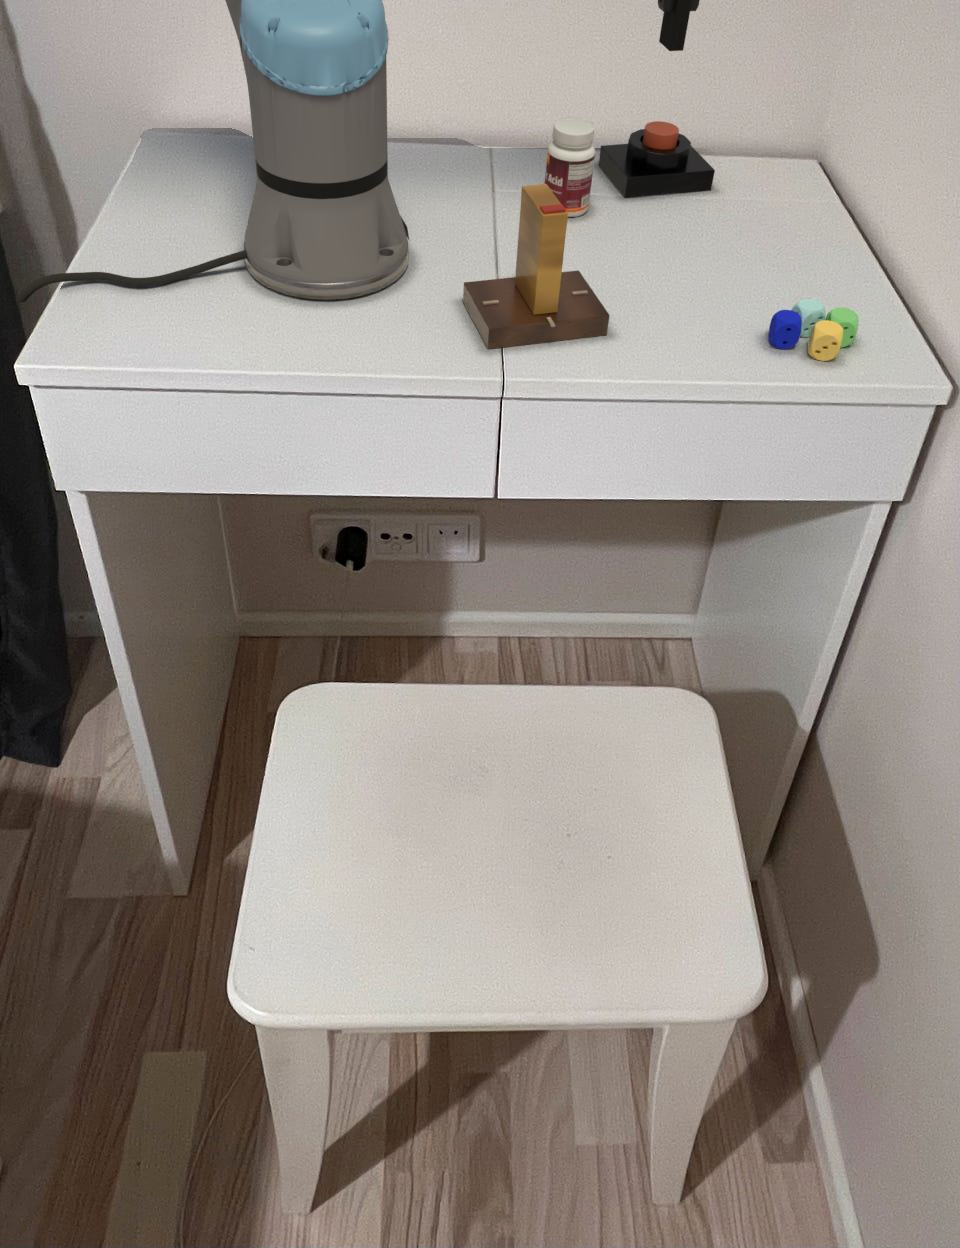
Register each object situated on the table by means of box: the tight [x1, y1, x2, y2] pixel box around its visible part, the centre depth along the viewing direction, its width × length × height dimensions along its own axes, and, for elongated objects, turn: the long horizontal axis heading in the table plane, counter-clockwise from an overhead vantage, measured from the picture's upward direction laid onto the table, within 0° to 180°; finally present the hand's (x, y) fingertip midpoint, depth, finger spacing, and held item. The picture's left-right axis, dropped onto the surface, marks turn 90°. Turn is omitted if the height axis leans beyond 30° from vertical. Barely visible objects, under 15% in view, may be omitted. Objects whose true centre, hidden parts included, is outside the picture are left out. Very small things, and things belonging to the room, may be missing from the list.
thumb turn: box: [514, 183, 569, 315], centre depth 95 cm, size 6×2×9 cm, turn 16°
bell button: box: [643, 120, 680, 150], centre depth 118 cm, size 4×4×2 cm
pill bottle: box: [544, 117, 596, 218], centre depth 112 cm, size 5×5×8 cm
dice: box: [768, 298, 859, 362], centre depth 98 cm, size 8×3×6 cm
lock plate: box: [462, 270, 610, 350], centre depth 99 cm, size 11×10×2 cm
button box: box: [598, 128, 716, 199], centre depth 120 cm, size 10×8×4 cm
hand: (671, 45), depth 112 cm, fingers closed
